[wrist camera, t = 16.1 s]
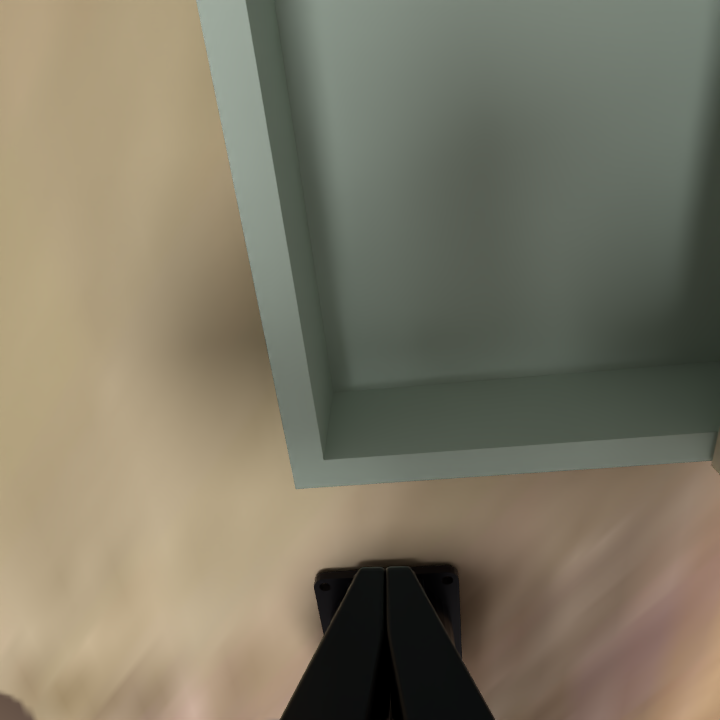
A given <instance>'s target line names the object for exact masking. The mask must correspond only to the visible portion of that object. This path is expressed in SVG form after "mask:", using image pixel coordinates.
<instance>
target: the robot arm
mask: <svg viewBox="0 0 720 720" xmlns="http://www.w3.org/2000/svg"><path fill="white" fill-rule="evenodd" d="M446 576H449V577H446ZM323 583H327V584H323ZM314 590H315V595H316V599H317V604H318V609H319V614H320V619H321V624H322V629H323V633H324V636H323V638H322V640H321V642H320V644H319V646H318V648H317V650H316V652H315V654H314V655H313V657H312V659H311V661H310V663H309V665H308V667H307V669H306V671H305V673H304V674H303V676H302V678H301V680H300V682H299V684H298V686H297V688H296V690H295V692H294V693H293V695H292V697H291V699H290V701H289V703H288V705H287V707H286V709H285V711H284V712H283V714H282V716H281V718H280V720H495V718H494V717H493V715H492V713H491V711H490V709H489V708H488V706H487V704H486V702H485V700H484V699H483V697H482V695H481V693H480V691H479V689H478V688H477V686H476V684H475V682H474V680H473V679H472V677H471V675H470V673H469V671H468V670H467V668H466V666H465V664H464V662H463V661H462V647H461V622H460V598H459V578H458V572H457V570H456V569H455V568H454V567H452V566H449V565H442V566H424V567H409V566H391V567H387V568H386V569H384V568H382V567H362V568H360V569H359V570H354V571H336V572H323V573H319V574H318V575H317V576H316V577H315V583H314Z"/></svg>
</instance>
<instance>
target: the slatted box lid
mask: <svg viewBox="0 0 720 720" xmlns="http://www.w3.org/2000/svg"><path fill="white" fill-rule="evenodd" d="M711 465H712V467H713V468H714V469H715V470H716V471H717V472H718V473H719V475H720V427H719V432H718V437H717V441H716V446H715V451H714V455H713V460H712V464H711Z"/></svg>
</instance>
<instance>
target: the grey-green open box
mask: <svg viewBox="0 0 720 720" xmlns="http://www.w3.org/2000/svg"><path fill="white" fill-rule="evenodd" d="M196 1H197V6H198V11H199V16H200V21H201V26H202V31H203V36H204V41H205V46H206V51H207V55H208V60H209V65H210V70H211V75H212V80H213V85H214V90H215V95H216V100H217V105H218V110H219V114H220V119H221V124H222V129H223V134H224V139H225V144H226V149H227V154H228V159H229V164H230V169H231V173H232V178H233V183H234V188H235V193H236V198H237V203H238V208H239V213H240V218H241V223H242V227H243V232H244V237H245V242H246V247H247V252H248V257H249V262H250V267H251V272H252V277H253V282H254V286H255V291H256V296H257V301H258V306H259V311H260V316H261V321H262V326H263V331H264V336H265V340H266V345H267V350H268V355H269V360H270V365H271V370H272V375H273V380H274V385H275V390H276V395H277V399H278V404H279V409H280V414H281V419H282V424H283V429H284V434H285V439H286V444H287V449H288V453H289V458H290V463H291V468H292V473H293V478H294V483H295V488H296V489H304V488H318V487H333V486H348V485H362V484H377V483H392V482H406V481H421V480H436V479H450V478H465V477H480V476H494V475H509V474H524V473H538V472H553V471H568V470H582V469H597V468H611V467H626V466H641V465H655V464H670V463H685V462H699V461H712V460H713V455H714V451H715V446H716V441H717V437H718V432H719V427H720V0H196Z"/></svg>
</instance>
